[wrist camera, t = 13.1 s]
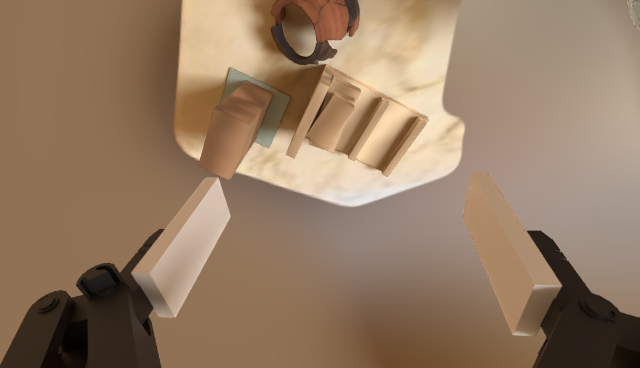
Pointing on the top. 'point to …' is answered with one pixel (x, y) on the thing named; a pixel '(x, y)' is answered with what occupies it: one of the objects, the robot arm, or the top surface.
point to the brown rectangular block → (234, 129)
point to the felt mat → (274, 109)
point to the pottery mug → (318, 26)
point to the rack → (357, 122)
